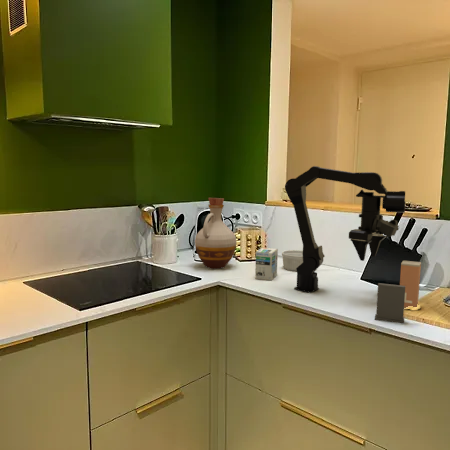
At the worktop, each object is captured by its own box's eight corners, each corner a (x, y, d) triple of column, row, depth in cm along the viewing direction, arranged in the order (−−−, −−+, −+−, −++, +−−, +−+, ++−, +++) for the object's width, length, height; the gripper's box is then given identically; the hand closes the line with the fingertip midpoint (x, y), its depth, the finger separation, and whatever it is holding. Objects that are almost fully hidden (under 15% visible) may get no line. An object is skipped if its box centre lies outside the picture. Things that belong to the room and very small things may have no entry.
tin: (398, 306, 128) (400, 263, 126) (400, 301, 132) (403, 260, 131) (416, 309, 125) (419, 265, 124) (418, 304, 130) (421, 262, 128)
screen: (374, 319, 117) (376, 284, 116) (375, 316, 120) (377, 282, 119) (404, 323, 114) (406, 288, 113) (404, 320, 117) (406, 285, 116)
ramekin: (311, 273, 171) (312, 256, 170) (279, 271, 175) (279, 254, 174) (313, 266, 184) (314, 251, 183) (283, 264, 187) (284, 249, 187)
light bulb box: (271, 281, 158) (272, 253, 157) (254, 279, 160) (255, 251, 159) (277, 274, 168) (278, 248, 167) (261, 273, 170) (261, 247, 169)
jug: (223, 274, 167) (224, 199, 164) (185, 269, 175) (185, 197, 171) (242, 265, 185) (243, 197, 181) (206, 261, 192) (207, 195, 189)
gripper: (384, 215, 123) (381, 266, 125) (406, 211, 137) (403, 258, 139) (349, 212, 130) (346, 261, 132) (372, 209, 144) (370, 253, 146)
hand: (368, 258), depth 137 cm, fingers open, 9 cm apart
